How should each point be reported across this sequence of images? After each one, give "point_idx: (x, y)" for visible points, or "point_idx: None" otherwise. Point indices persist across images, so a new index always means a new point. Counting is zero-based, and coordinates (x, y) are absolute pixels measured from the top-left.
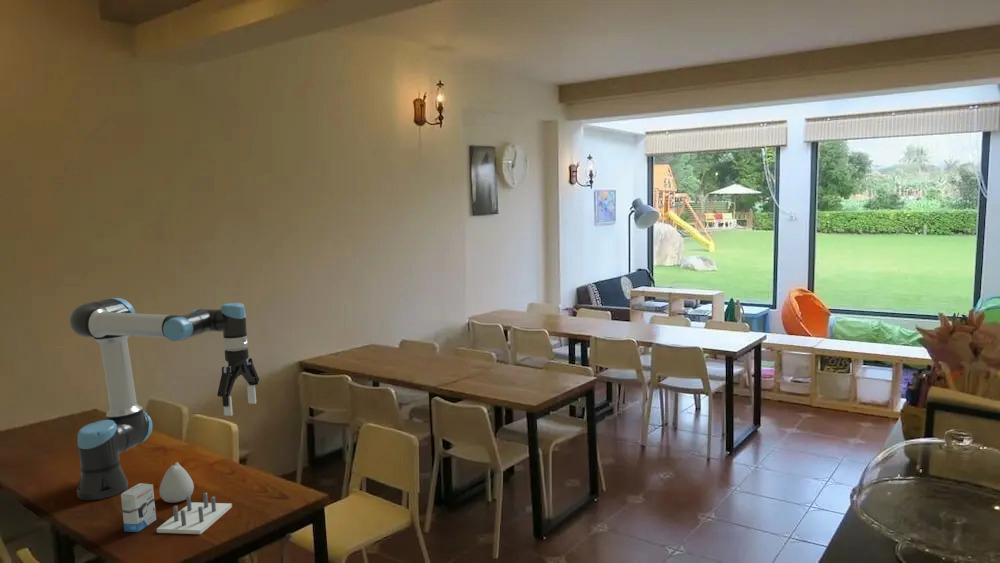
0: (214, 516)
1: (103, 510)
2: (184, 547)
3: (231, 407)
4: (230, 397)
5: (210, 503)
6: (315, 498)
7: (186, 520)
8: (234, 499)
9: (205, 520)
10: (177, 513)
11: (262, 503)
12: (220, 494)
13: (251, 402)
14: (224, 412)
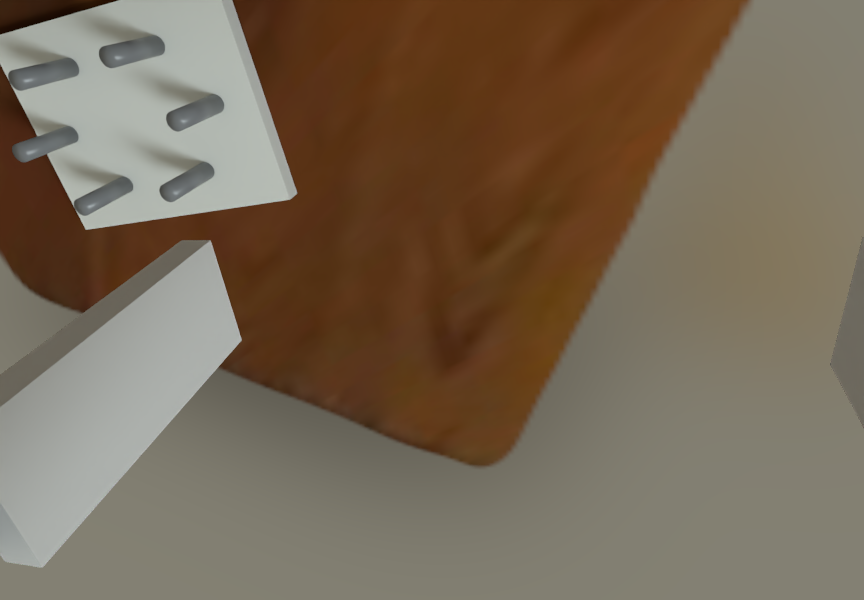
0: (176, 208)
1: None
2: (21, 230)
3: (164, 411)
4: (34, 547)
5: (249, 96)
6: (474, 457)
7: (95, 114)
8: (361, 151)
9: (137, 195)
10: (48, 83)
11: (373, 297)
12: (383, 28)
13: (851, 313)
14: (159, 265)
